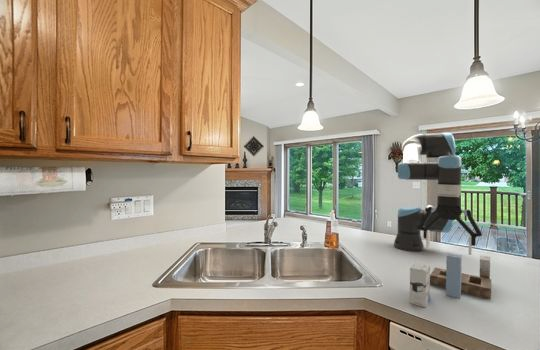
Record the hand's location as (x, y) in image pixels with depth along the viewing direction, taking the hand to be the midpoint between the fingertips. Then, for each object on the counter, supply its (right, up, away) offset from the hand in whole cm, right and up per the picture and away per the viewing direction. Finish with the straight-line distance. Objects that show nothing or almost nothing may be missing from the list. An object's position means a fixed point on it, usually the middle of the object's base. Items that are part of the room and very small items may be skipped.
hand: (448, 250), depth 102 cm
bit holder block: (+3, -13, -2) cm, 13 cm away
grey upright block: (+15, -13, +1) cm, 20 cm away
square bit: (-4, -13, -9) cm, 16 cm away
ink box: (-19, -13, -14) cm, 27 cm away
